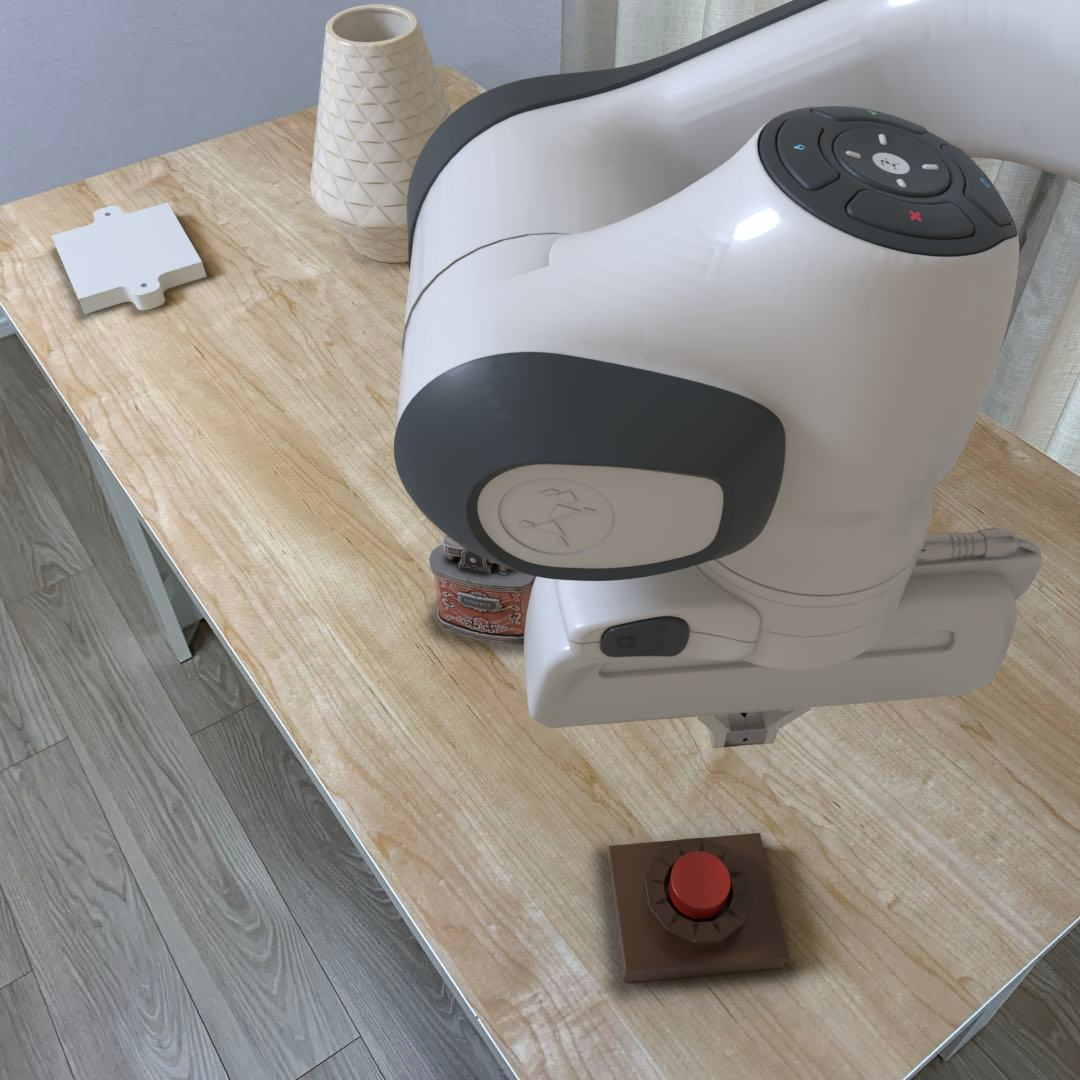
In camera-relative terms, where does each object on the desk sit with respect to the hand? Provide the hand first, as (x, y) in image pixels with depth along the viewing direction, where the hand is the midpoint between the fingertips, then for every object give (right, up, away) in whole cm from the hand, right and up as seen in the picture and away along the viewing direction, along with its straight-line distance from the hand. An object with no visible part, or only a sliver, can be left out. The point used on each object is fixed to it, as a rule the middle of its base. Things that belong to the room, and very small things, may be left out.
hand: (738, 732), depth 50 cm
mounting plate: (-54, +39, +64) cm, 93 cm away
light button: (0, -12, +15) cm, 19 cm away
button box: (0, -15, +18) cm, 23 cm away
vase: (-25, +43, +67) cm, 84 cm away
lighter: (-14, +2, +33) cm, 35 cm away
